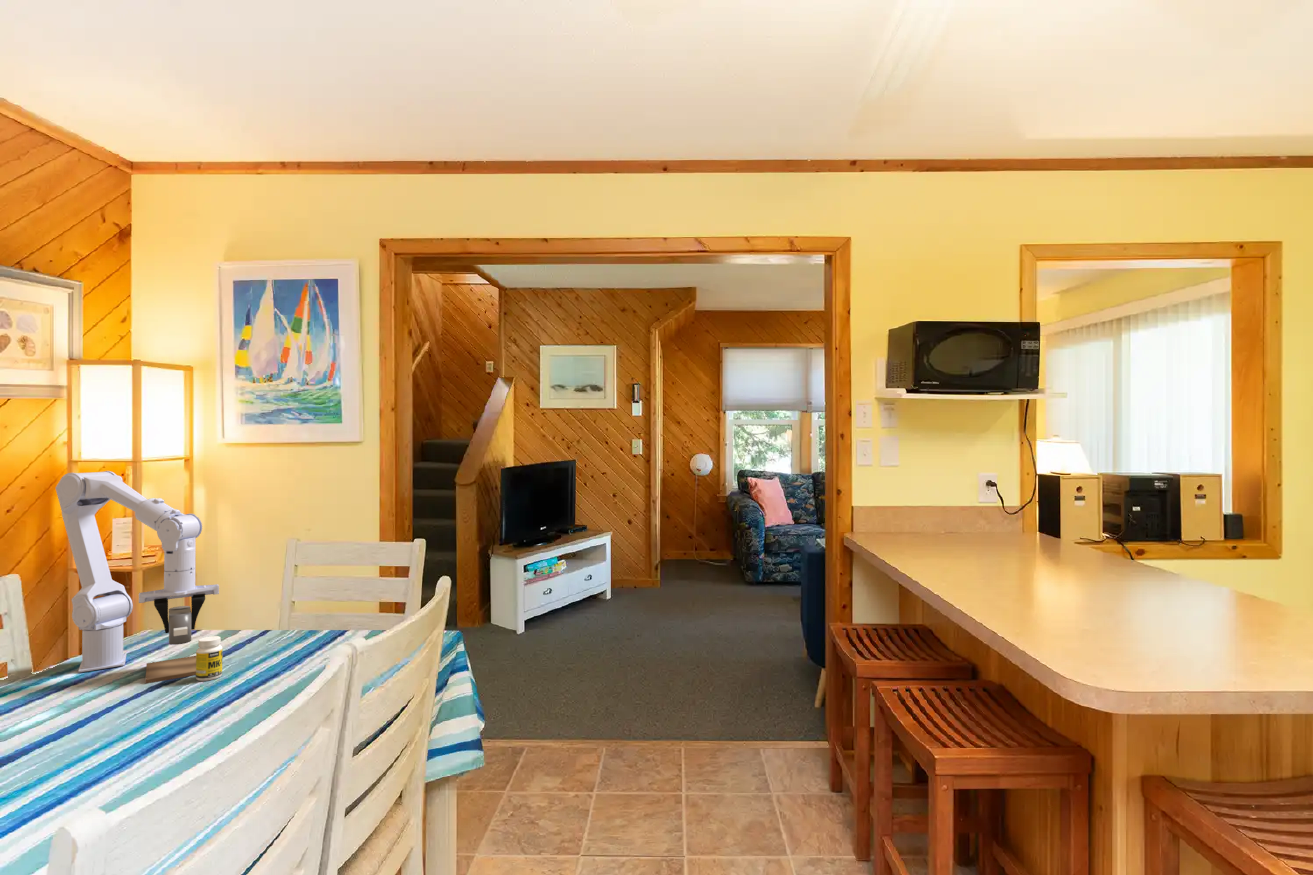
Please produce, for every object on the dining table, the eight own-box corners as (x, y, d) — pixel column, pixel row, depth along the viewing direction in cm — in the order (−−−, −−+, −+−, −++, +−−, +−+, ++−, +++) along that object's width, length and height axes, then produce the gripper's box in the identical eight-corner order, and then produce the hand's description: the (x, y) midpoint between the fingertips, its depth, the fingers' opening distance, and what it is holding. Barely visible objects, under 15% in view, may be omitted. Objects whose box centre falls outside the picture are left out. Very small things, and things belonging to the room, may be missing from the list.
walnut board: (146, 666, 151) (146, 663, 151) (210, 656, 158) (210, 653, 158) (145, 683, 141) (145, 679, 141) (213, 671, 148) (213, 668, 148)
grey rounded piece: (168, 633, 153) (168, 607, 153) (190, 630, 155) (190, 605, 155) (169, 648, 142) (169, 619, 142) (191, 644, 145) (192, 616, 145)
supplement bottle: (209, 682, 142) (209, 642, 142) (190, 680, 143) (190, 641, 143) (227, 674, 146) (227, 635, 146) (209, 672, 147) (209, 634, 147)
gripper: (138, 576, 142) (138, 640, 142) (219, 568, 151) (219, 628, 151) (139, 571, 148) (139, 632, 148) (217, 563, 156) (217, 622, 156)
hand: (179, 630), depth 150 cm, fingers closed on grey rounded piece, 4 cm apart
